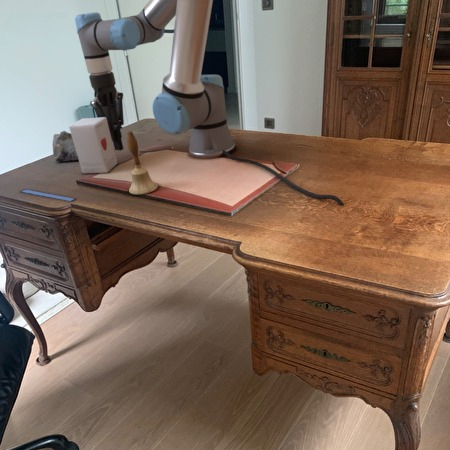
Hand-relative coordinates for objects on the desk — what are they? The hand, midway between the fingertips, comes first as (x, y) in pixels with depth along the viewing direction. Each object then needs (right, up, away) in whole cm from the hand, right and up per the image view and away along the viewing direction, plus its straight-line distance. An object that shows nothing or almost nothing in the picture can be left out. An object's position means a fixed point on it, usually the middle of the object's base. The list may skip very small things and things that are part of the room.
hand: (119, 149), depth 149 cm
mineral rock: (-17, -2, +5) cm, 18 cm away
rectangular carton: (-5, -8, -5) cm, 11 cm away
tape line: (-16, -20, -20) cm, 33 cm away
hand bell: (+13, -20, -24) cm, 33 cm away
